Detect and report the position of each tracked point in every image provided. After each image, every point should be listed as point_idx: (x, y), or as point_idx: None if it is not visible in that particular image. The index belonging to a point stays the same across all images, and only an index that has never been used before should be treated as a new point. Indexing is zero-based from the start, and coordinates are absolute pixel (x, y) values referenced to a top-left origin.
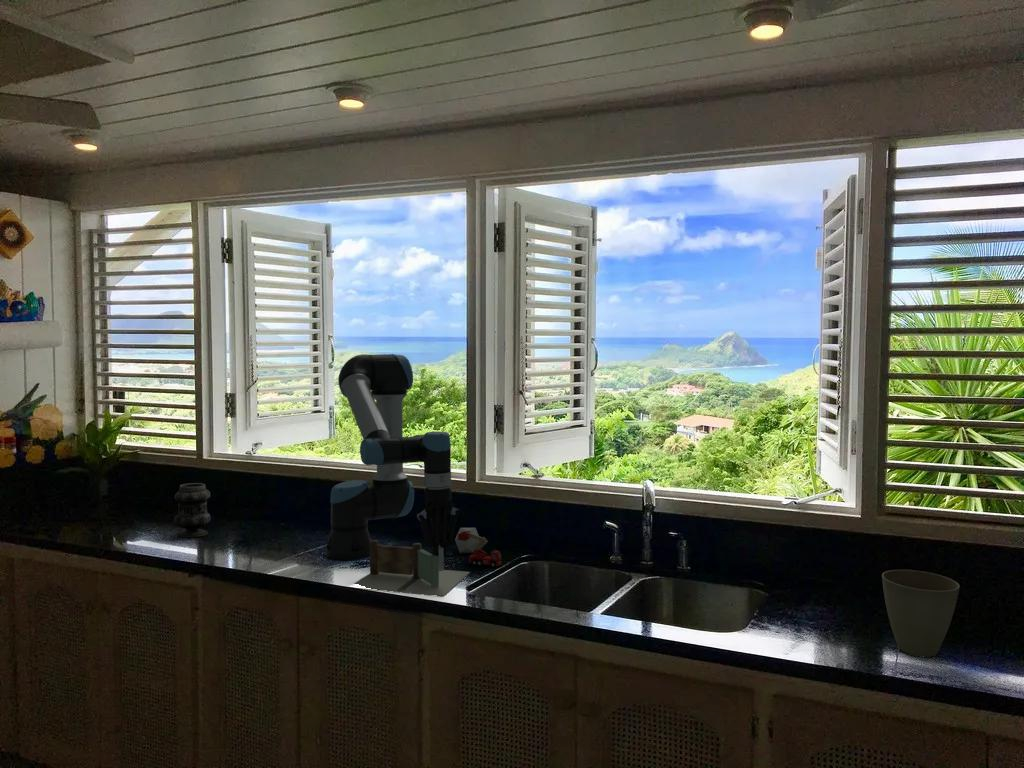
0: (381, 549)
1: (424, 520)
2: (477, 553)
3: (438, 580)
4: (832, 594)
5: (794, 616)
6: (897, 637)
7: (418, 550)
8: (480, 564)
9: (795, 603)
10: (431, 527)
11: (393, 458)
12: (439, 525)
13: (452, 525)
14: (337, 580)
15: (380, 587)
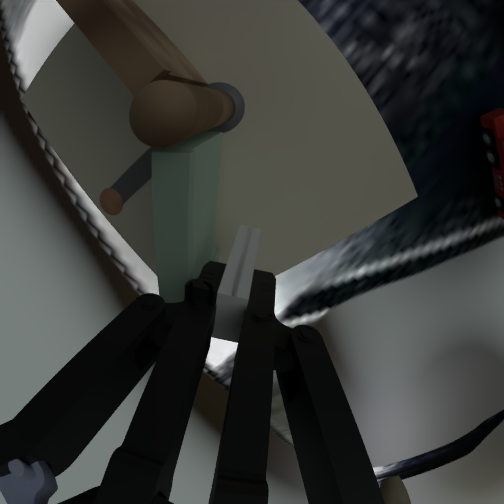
0: None
1: (49, 466)
2: None
3: None
4: (474, 438)
5: (420, 458)
6: (384, 485)
7: (152, 169)
8: (489, 160)
9: (448, 446)
10: (137, 413)
11: None
12: (222, 444)
13: (305, 471)
14: (30, 25)
15: (70, 147)
